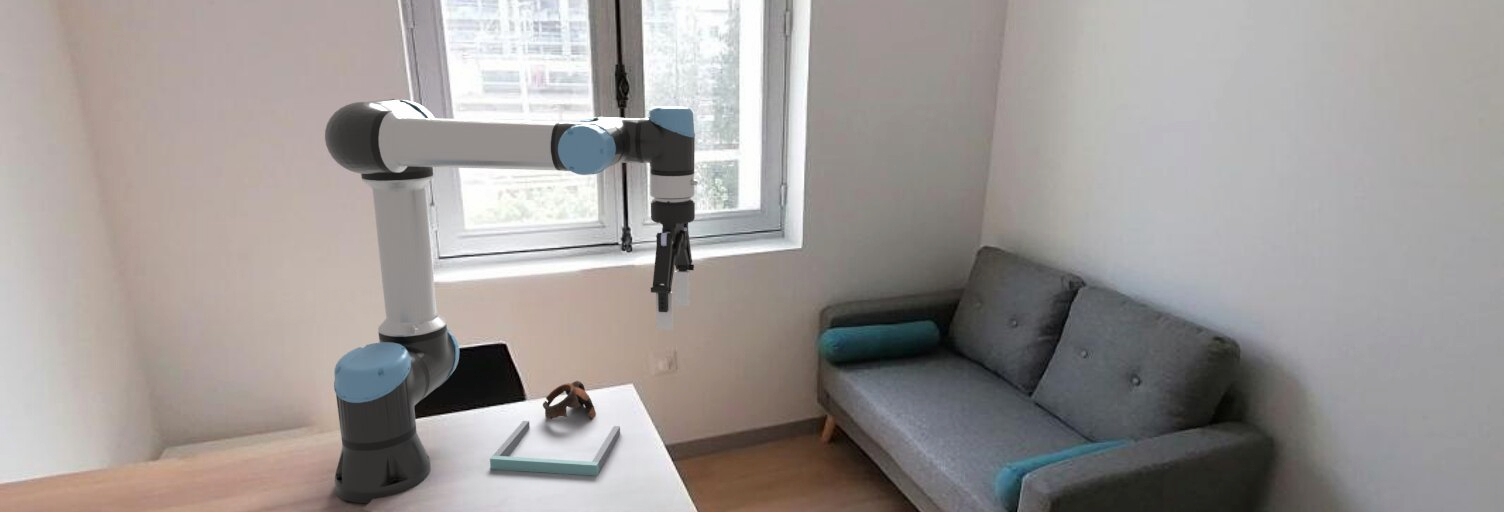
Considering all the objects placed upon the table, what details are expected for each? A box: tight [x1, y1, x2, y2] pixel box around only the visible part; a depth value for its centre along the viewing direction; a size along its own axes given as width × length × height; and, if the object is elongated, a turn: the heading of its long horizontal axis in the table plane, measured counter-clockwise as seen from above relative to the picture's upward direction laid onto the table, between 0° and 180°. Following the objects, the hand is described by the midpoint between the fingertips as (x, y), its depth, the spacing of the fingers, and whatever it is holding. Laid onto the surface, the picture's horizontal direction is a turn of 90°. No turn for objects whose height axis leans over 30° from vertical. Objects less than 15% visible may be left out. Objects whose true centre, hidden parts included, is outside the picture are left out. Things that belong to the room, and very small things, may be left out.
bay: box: [489, 420, 621, 477], centre depth 146 cm, size 19×16×2 cm
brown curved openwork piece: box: [542, 380, 597, 420], centre depth 159 cm, size 12×9×8 cm
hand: (673, 316), depth 139 cm, fingers open, 13 cm apart
